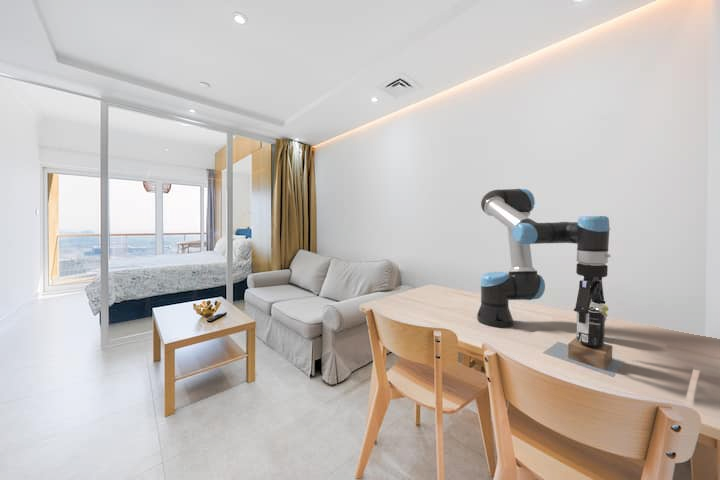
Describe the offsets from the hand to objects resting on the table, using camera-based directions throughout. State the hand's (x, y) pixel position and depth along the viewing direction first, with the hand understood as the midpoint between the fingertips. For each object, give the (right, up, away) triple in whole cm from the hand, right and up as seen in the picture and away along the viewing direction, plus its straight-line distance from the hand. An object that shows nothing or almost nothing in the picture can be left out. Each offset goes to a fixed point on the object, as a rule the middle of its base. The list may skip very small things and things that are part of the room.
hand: (589, 327), depth 85 cm
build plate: (-1, -12, +2) cm, 12 cm away
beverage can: (0, -6, 0) cm, 6 cm away
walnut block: (0, -11, 0) cm, 11 cm away
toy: (+18, -11, +19) cm, 28 cm away
